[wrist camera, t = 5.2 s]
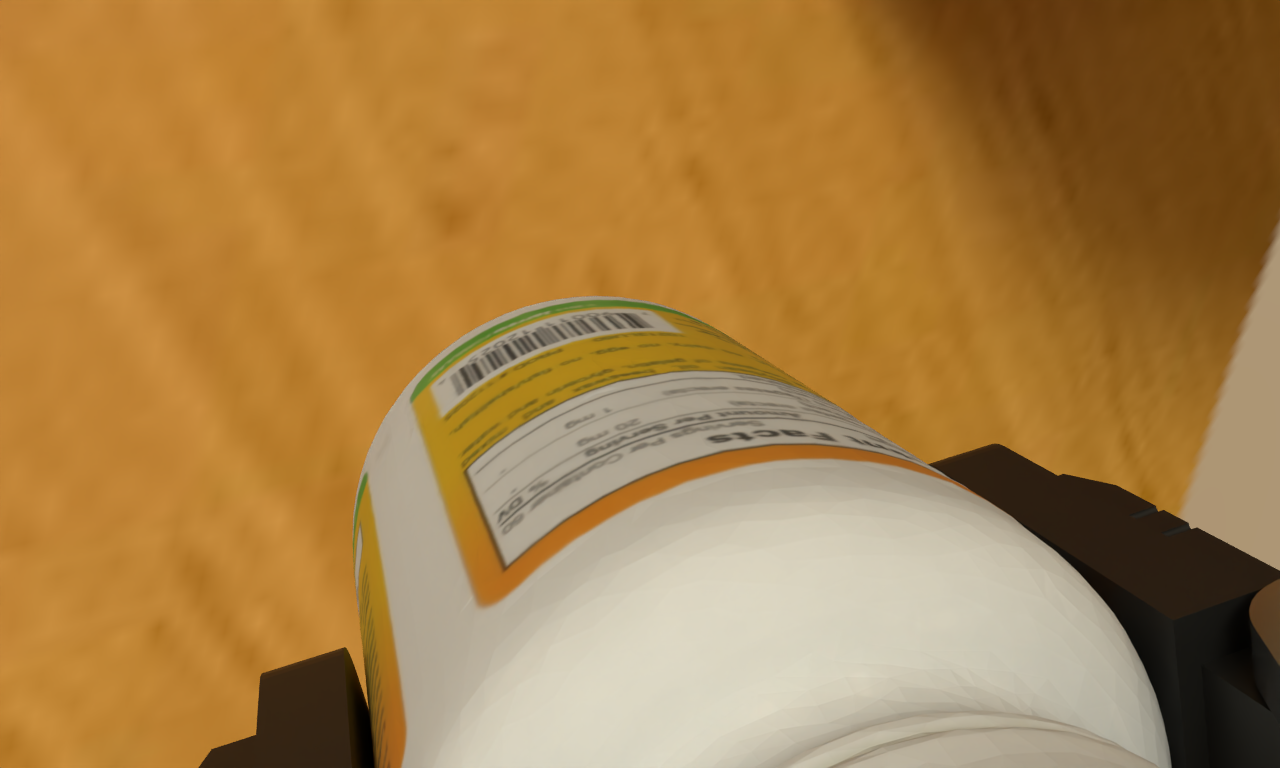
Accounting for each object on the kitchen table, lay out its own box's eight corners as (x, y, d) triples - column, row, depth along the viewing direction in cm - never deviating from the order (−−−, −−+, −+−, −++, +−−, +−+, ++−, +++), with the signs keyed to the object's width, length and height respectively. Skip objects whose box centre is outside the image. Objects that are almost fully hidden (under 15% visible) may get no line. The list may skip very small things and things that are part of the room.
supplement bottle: (647, 781, 16) (1121, 1778, 7) (260, 609, 14) (171, 1664, 5) (876, 424, 15) (1720, 961, 6) (507, 196, 13) (934, 484, 4)
